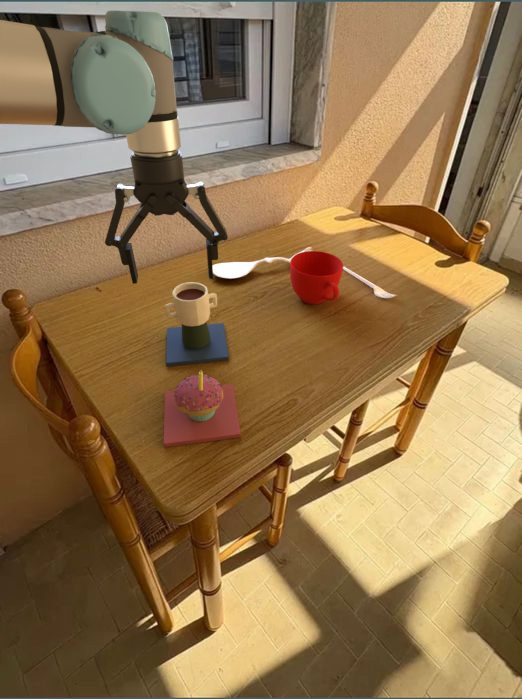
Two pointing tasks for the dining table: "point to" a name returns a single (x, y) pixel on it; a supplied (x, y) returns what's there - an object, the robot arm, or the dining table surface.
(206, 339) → the character mug
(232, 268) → the spoon
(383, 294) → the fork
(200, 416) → the cupcake
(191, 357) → the blue mat
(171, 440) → the rose mat
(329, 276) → the ceramic cup
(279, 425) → the dining table surface
